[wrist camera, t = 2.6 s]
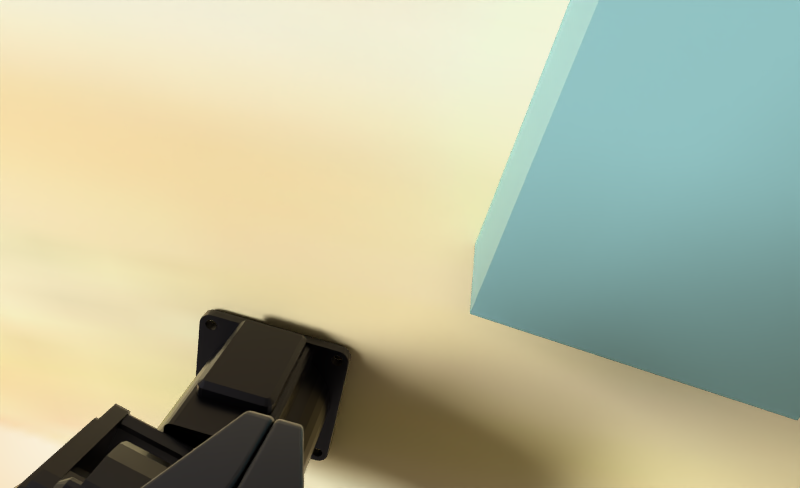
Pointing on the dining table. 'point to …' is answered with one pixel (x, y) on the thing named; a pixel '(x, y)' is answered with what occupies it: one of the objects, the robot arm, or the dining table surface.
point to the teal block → (659, 196)
